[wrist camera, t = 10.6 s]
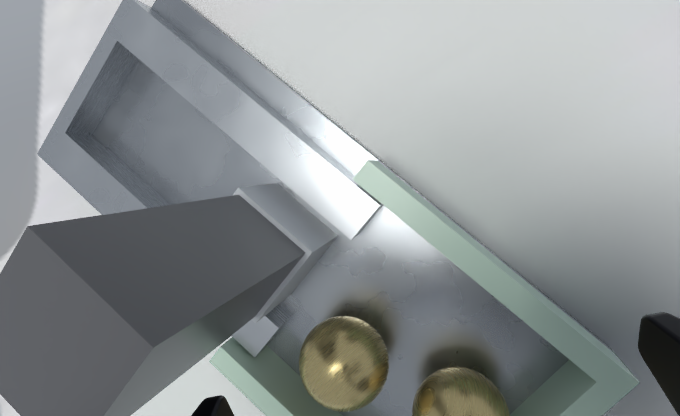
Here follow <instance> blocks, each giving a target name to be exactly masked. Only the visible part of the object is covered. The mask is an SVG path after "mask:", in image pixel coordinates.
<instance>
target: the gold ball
mask: <svg viewBox="0 0 680 416" xmlns="http://www.w3.org/2000/svg"><path fill="white" fill-rule="evenodd" d="M412 416H510V413H509V409H508V406H507V403H506V401H505V399H504V397H503V395H502V394H501V392H500V391H499V389H498V388H497V387H496V386H495V385H494V384H493V383H492V382H491V381H490V380H489V379H488V378H487V377H485V376H484V375H482V374H481V373H479V372H477V371H475V370H472V369H469V368H465V367H447V368H443V369H440V370H437V371H436V372H434V373H432V374H431V375H429V376H428V377H427V378H426V379H425V380H424V381H423V382H422V383H421V385H420V386H419V388H418V390H417V392H416V394H415V397H414V401H413V406H412Z"/></svg>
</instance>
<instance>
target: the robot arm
mask: <svg viewBox="0 0 680 416" xmlns="http://www.w3.org/2000/svg"><path fill="white" fill-rule="evenodd" d="M638 348H639V352H640V354H641V356H642V358H643V359H644V361H645V363H646V364H647V366H648V367H649V369H650V371H651V372H652V374H653V375H654V377H655V379H656V380H657V382H658V383H659V385H660V387H661V388H662V390H663V391H664V393H665V395H666V396H667V398H668V399H669V401H670V403H671V404H672V406H673V407H674V409H675V411H676V412H677V414H678V415H679V416H680V318H678V317H675V316H673V315H671V314H668V313H664V312H660V313H655V314H650V315H645V316H644V317H643V318H642V319H641V324H640V332H639V340H638ZM191 416H234V414H233V412H232V410H231V408H230V406H229V404H228V402H227V400H226V398H225V397H224V396H215V397H210V398H206V399H204V400H203V401H202V402H201V404H200V405H199V406H198V408H197V409H196V410H195V412H194V413H193V414H192V415H191Z"/></svg>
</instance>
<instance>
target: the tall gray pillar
mask: <svg viewBox="0 0 680 416" xmlns="http://www.w3.org/2000/svg"><path fill="white" fill-rule="evenodd" d="M337 236H338V235H337V234H336V233H334V232H333V231H332V230H331V229H330V228H329V227H327V226H326V225H325V224H324V223H323V222H321V221H320V220H319V219H318V218H317V217H316V216H314V215H313V214H312V213H311V212H310V211H309V210H307V209H306V208H305V207H304V206H303V205H302V204H300V203H299V202H298V201H297V200H296V199H295V198H293V197H292V196H291V195H290V194H289V193H287V192H286V191H285V190H284V189H283V188H282V187H280V186H279V185H278V184H277V183H274V184H265V185H256V186H248V187H239V188H237V190H236V191H235V193H234V194H233V195H232V196H226V197H220V198H213V199H206V200H200V201H193V202H186V203H180V204H173V205H166V206H160V207H153V208H146V209H140V210H133V211H126V212H120V213H113V214H106V215H100V216H93V217H86V218H80V219H73V220H66V221H60V222H53V223H46V224H39V225H33V226H28V227H27V228H26V230H25V232H24V233H23V235H22V237H21V239H20V240H19V242H18V244H17V246H16V247H15V249H14V251H13V253H12V254H11V256H10V258H9V260H8V261H7V263H6V265H5V267H4V268H3V270H2V272H1V273H0V394H1V395H2V396H3V398H4V399H5V400H6V401H7V402H8V403H9V404H10V405H11V406H12V407H13V408H14V409H15V410H16V411H17V412H18V413H19V414H20V415H21V416H130V415H132V414H133V413H134V412H135V411H137V410H138V409H139V408H140V407H142V406H143V405H144V404H145V403H147V402H148V401H149V400H151V399H152V398H153V397H154V396H156V395H157V394H158V393H159V392H161V391H162V390H163V389H164V388H166V387H167V386H168V385H169V384H171V383H172V382H173V381H175V380H176V379H177V378H178V377H180V376H181V375H182V374H183V373H185V372H186V371H187V370H188V369H190V368H191V367H192V366H193V365H195V364H196V363H197V362H199V361H200V360H201V359H202V358H204V357H205V356H206V355H207V354H209V353H210V352H211V351H212V350H214V349H215V348H216V347H217V346H219V345H220V344H221V343H223V342H224V341H225V340H226V339H228V338H229V337H230V336H231V335H233V334H234V333H235V332H236V331H238V330H239V329H240V328H241V327H243V326H244V325H245V324H247V323H248V322H249V321H250V320H252V321H253V322H254V323H255V324H256V323H257V322H258V321H259V320H261V319H262V318H263V317H264V316H265V315H267V314H268V313H269V312H270V311H271V310H273V309H274V308H275V307H276V306H277V305H279V304H280V303H281V302H282V301H283V300H285V299H286V298H287V297H288V296H290V295H291V293H292V292H293V291H294V290H295V288H296V287H297V286H298V285H299V283H300V282H301V281H302V280H303V278H304V277H305V276H306V275H307V273H308V272H309V271H310V270H311V268H312V267H313V266H314V265H315V263H316V262H317V261H318V260H319V259H320V257H321V256H322V255H323V254H324V252H325V251H326V250H327V249H328V247H329V246H330V245H331V244H332V242H333V241H334V240H335V239H336V237H337Z"/></svg>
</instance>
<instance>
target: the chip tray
mask: <svg viewBox="0 0 680 416" xmlns="http://www.w3.org/2000/svg"><path fill="white" fill-rule="evenodd" d="M353 180H354V181H355V182H356V183H358V184H359V185H360V186H361V187H362V188H364V189H365V190H366V191H367V192H368V193H370V194H371V195H372V196H373V197H374V198H376V199H377V200H378V201H379V202H380V203H382V204H383V205H384V206H385V207H386V208H388V209H389V210H390V211H391V212H392V213H394V214H395V215H396V216H397V217H398V218H400V219H401V220H402V221H403V222H404V223H406V224H407V225H408V226H409V227H411V228H412V229H413V230H414V231H415V232H417V233H418V234H419V235H420V236H421V237H423V238H424V239H425V240H426V241H427V242H429V243H430V244H431V245H432V246H433V247H435V248H436V249H437V250H438V251H439V252H441V253H442V254H443V255H444V256H445V257H447V258H448V259H449V260H450V261H451V262H453V263H454V264H455V265H456V266H457V267H459V268H460V269H461V270H462V271H463V272H465V273H466V274H467V275H468V276H470V277H471V278H472V279H473V280H474V281H476V282H477V283H478V284H479V285H480V286H482V287H483V288H484V289H485V290H486V291H488V292H489V293H490V294H491V295H492V296H494V297H495V298H496V299H497V300H498V301H500V302H501V303H502V304H503V305H504V306H506V307H507V308H508V309H509V310H510V311H512V312H513V313H514V314H515V315H516V316H518V317H519V318H520V319H521V320H523V321H524V322H525V323H526V324H527V325H529V326H530V327H531V328H532V329H533V330H535V331H536V332H537V333H538V334H539V335H541V336H542V337H543V338H544V339H545V340H547V341H548V342H549V343H550V344H551V345H553V346H554V347H555V348H556V349H557V350H559V351H560V352H561V353H562V354H563V355H565V356H566V357H567V358H568V359H569V360H568V361H567V362H566V363H565V364H564V365H563V366H562V367H561V368H560V369H558V370H557V371H556V372H555V373H554V374H553V375H552V376H551V377H550V378H549V379H548V380H547V381H546V382H545V383H543V384H542V385H541V386H540V387H539V388H538V389H537V390H536V391H535V392H534V393H533V394H532V395H531V396H529V397H528V398H527V399H526V400H525V401H524V402H523V403H522V404H521V405H520V406H519V407H518V408H517V409H515V410H514V411H513V412H512V413H511V414H510V416H602V415H603V414H605V413H606V412H607V411H608V410H609V409H610V408H611V407H613V406H614V405H615V404H616V403H617V402H618V401H620V400H621V399H622V398H623V397H624V396H625V395H626V394H628V393H629V392H630V391H631V390H632V389H633V388H635V387H636V386H637V385H638V384H639V383H640V382H639V381H638V380H637V379H636V378H635V377H634V375H633V374H632V373H631V372H630V371H629V370H628V369H627V367H626V366H625V365H624V364H623V363H622V362H621V360H620V359H619V358H618V357H617V356H616V355H615V354H614V352H612V351H611V350H610V349H609V348H607V347H606V346H605V345H604V344H603V343H601V342H600V341H599V340H598V339H596V338H595V337H594V336H593V335H592V334H590V333H589V332H588V331H587V330H585V329H584V328H583V327H582V326H580V325H579V324H578V323H577V322H576V321H574V320H573V319H572V318H571V317H569V316H568V315H567V314H566V313H565V312H563V311H562V310H561V309H560V308H558V307H557V306H556V305H555V304H553V303H552V302H551V301H550V300H549V299H547V298H546V297H545V296H544V295H542V294H541V293H540V292H539V291H538V290H536V289H535V288H534V287H533V286H531V285H530V284H529V283H528V282H526V281H525V280H524V279H523V278H522V277H520V276H519V275H518V274H517V273H515V272H514V271H513V270H512V269H511V268H509V267H508V266H507V265H506V264H504V263H503V262H502V261H501V260H499V259H498V258H497V257H496V256H495V255H493V254H492V253H491V252H490V251H488V250H487V249H486V248H485V247H484V246H482V245H481V244H480V243H479V242H477V241H476V240H475V239H474V238H472V237H471V236H470V235H469V234H468V233H466V232H465V231H464V230H463V229H461V228H460V227H459V226H458V225H457V224H455V223H454V222H453V221H452V220H450V219H449V218H448V217H447V216H445V215H444V214H443V213H442V212H441V211H439V210H438V209H437V208H436V207H434V206H433V205H432V204H431V203H430V202H428V201H427V200H426V199H425V198H423V197H422V196H421V195H420V194H418V193H417V192H416V191H415V190H414V189H412V188H411V187H410V186H409V185H407V184H406V183H405V182H404V181H403V180H401V179H400V178H399V177H398V176H396V175H395V174H394V173H393V172H391V171H390V170H389V169H388V168H387V167H385V166H384V165H383V164H382V163H380V162H379V161H378V160H367V161H366V163H365V164H364V165H363V167H362V168H361V169H360V170H359V172H358V173H357V174H356V175H355V177H354V178H353ZM209 362H210V363H211V364H212V365H213V366H214V367H215V368H217V369H218V370H219V371H220V372H221V373H222V374H223V375H224V376H225V377H226V378H227V379H228V380H229V381H230V382H231V383H232V384H233V385H234V386H235V387H236V388H238V389H239V390H240V391H241V392H242V393H243V394H244V395H245V396H246V397H247V398H248V399H249V400H250V401H251V402H252V403H253V404H254V405H255V406H256V407H257V408H258V409H260V410H261V411H262V412H263V413H264V414H265V415H266V416H343V415H342V414H341V413H339V412H338V411H334V410H331V409H328V408H326V407H324V406H322V405H320V404H319V403H318V402H316V401H315V400H314V399H313V398H312V397H311V396H310V395H309V393H308V392H307V390H306V389H305V387H304V385H303V383H302V380H301V377H300V376H299V375H298V374H297V373H296V372H295V371H294V370H293V369H292V368H291V367H290V366H289V365H288V364H287V363H285V362H284V361H283V360H282V359H281V358H280V357H279V356H278V355H277V354H276V353H275V352H274V351H272V350H271V349H270V348H269V347H268V346H266V347H265V348H264V349H263V350H262V351H261V352H260V353H259V354H258V355H257V356H256V357H254V356H253V355H252V354H251V353H249V352H248V351H247V350H246V349H245V348H244V347H243V346H242V345H241V344H240V343H239V342H238V341H237V340H236V339H234V338H233V337H232V338H231V339H230V340H228V341H227V342H226V343H225V344H223V345H222V346H221V347H220V348H219V349H218V351H217V352H216V353H215V355H214V356H213V357H212V358H211V360H210V361H209Z"/></svg>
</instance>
